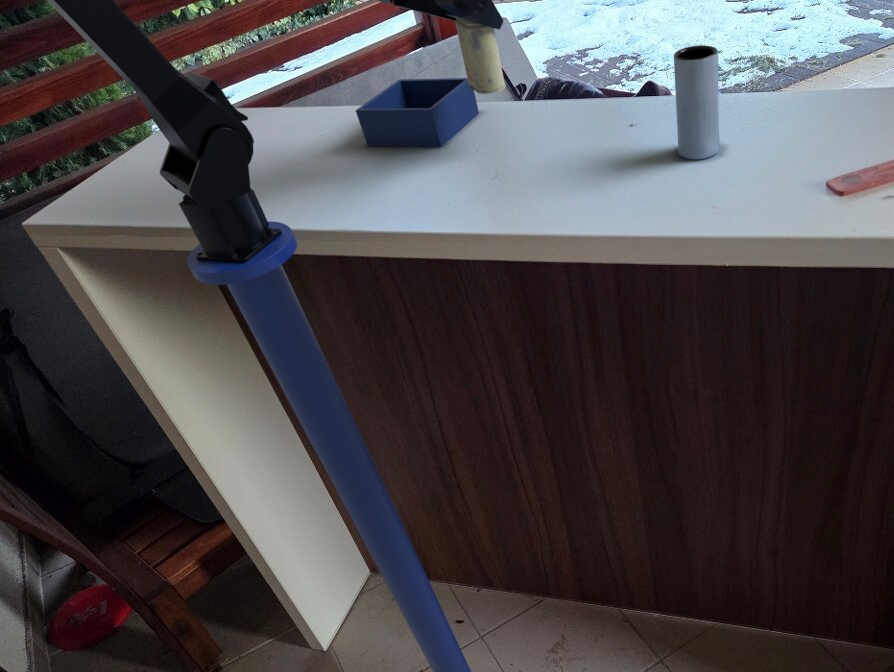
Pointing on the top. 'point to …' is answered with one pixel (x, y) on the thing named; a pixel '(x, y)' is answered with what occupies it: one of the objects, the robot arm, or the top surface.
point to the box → (418, 112)
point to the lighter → (480, 57)
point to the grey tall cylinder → (697, 101)
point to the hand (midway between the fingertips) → (482, 21)
